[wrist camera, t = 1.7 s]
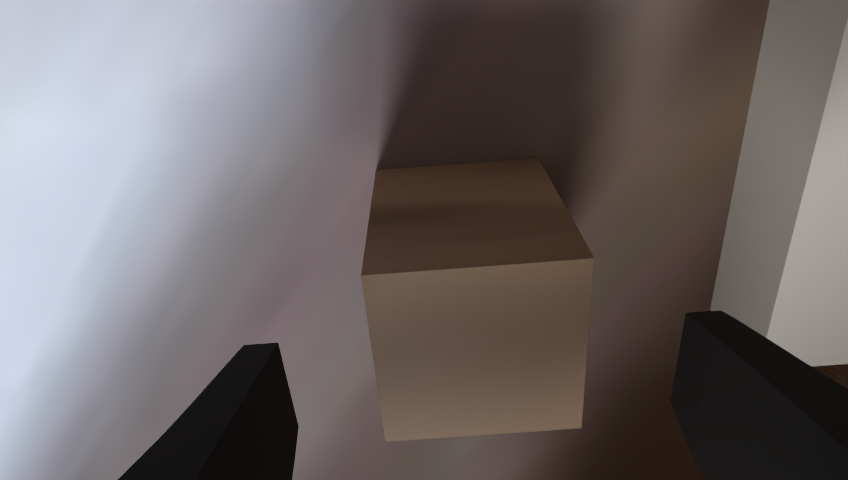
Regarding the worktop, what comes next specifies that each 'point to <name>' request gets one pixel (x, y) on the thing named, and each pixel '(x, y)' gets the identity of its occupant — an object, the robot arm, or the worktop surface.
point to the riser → (793, 188)
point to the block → (476, 301)
